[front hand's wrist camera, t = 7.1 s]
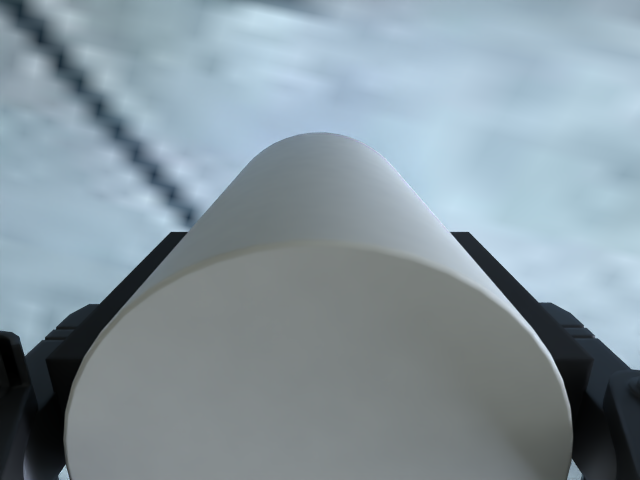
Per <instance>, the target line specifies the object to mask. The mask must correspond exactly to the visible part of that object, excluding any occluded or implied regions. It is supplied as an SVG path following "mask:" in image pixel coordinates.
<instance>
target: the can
mask: <svg viewBox="0 0 640 480" xmlns="http://www.w3.org/2000/svg"><path fill="white" fill-rule="evenodd" d="M63 442H64V451H65V460H66V467H67V471H68V474H69V478H70V480H567V477H568V473H569V469H570V465H571V459H572V446H573V428H572V418H571V408H570V404H569V400H568V396H567V393H566V389H565V386H564V382H563V379H562V377H561V375H560V373H559V371H558V368H557V366H556V364H555V362H554V360H553V358H552V356H551V354H550V352H549V351H548V349H547V348H546V347H545V345H544V344H543V342H542V341H541V339H540V338H539V337H538V335H537V334H536V332H535V331H534V330H533V328H532V327H531V326H530V325H529V324H528V322H527V321H526V320H525V319H524V318H523V317H522V315H521V314H520V313H519V312H518V311H517V310H516V308H515V307H514V306H513V305H512V304H511V303H510V301H509V300H508V299H507V298H506V297H505V296H504V295H503V293H502V292H501V291H500V290H499V289H498V288H497V286H496V285H495V284H494V283H493V282H492V281H491V279H490V278H489V277H488V276H487V275H486V274H485V272H484V271H483V270H482V269H481V268H480V267H479V266H478V264H477V263H476V262H475V261H474V260H473V259H472V257H471V256H470V255H469V254H468V253H467V252H466V250H465V249H464V248H463V247H462V246H461V245H460V244H459V242H458V241H457V240H456V239H455V238H454V237H453V235H452V234H451V233H450V232H449V231H448V230H447V228H446V227H445V226H444V225H443V224H442V223H441V221H440V220H439V219H438V218H437V217H436V216H435V215H434V213H433V212H432V211H431V210H430V209H429V208H428V206H427V205H426V204H425V203H424V202H423V201H422V199H421V198H420V197H419V196H418V195H417V194H416V192H415V191H414V190H413V189H412V188H411V187H410V186H409V184H408V183H407V182H406V181H405V180H404V179H403V177H402V176H401V175H400V174H399V173H398V172H397V170H396V169H395V168H394V167H393V166H392V165H391V164H390V163H389V162H388V161H387V160H386V159H385V158H384V157H383V156H382V155H381V154H380V153H378V152H377V151H376V150H374V149H373V148H371V147H369V146H368V145H366V144H364V143H363V142H360V141H358V140H355V139H353V138H350V137H347V136H343V135H339V134H332V133H307V134H300V135H296V136H292V137H289V138H286V139H283V140H281V141H279V142H276V143H274V144H272V145H271V146H269V147H268V148H266V149H264V150H263V151H262V152H260V153H259V154H258V155H257V156H255V157H254V158H253V159H252V160H251V161H250V162H249V163H248V165H247V166H246V167H245V168H244V169H243V170H242V171H241V172H240V174H239V175H238V176H237V177H236V178H235V179H234V180H233V182H232V183H231V184H230V185H229V186H228V187H227V188H226V190H225V191H224V192H223V193H222V194H221V195H220V196H219V197H218V199H217V200H216V201H215V202H214V203H213V204H212V205H211V207H210V208H209V209H208V210H207V211H206V212H205V213H204V215H203V216H202V217H201V218H200V219H199V220H198V221H197V223H196V224H195V225H194V226H193V227H192V228H191V229H190V231H189V232H188V233H187V234H186V235H185V236H184V237H183V239H182V240H181V241H180V242H179V243H178V244H177V245H176V247H175V248H174V249H173V250H172V251H171V252H170V253H169V255H168V256H167V257H166V258H165V259H164V260H163V261H162V263H161V264H160V265H159V266H158V267H157V268H156V269H155V271H154V272H153V273H152V274H151V275H150V276H149V277H148V279H147V280H146V281H145V282H144V283H143V284H142V285H141V286H140V288H139V289H138V290H137V291H136V292H135V293H134V294H133V296H132V297H131V298H130V299H129V300H128V301H127V302H126V304H125V305H124V306H123V307H122V308H121V309H120V310H119V312H118V313H117V314H116V315H115V316H114V317H113V318H112V320H111V321H110V322H109V323H108V324H107V325H106V326H105V328H104V329H103V330H102V331H101V332H100V334H99V335H98V337H97V338H96V340H95V341H94V343H93V344H92V346H91V347H90V349H89V350H88V352H87V353H86V355H85V356H84V358H83V360H82V363H81V365H80V367H79V369H78V372H77V374H76V376H75V378H74V381H73V383H72V387H71V391H70V395H69V399H68V403H67V407H66V411H65V423H64V437H63Z"/></svg>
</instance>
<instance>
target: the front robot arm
mask: <svg viewBox="0 0 640 480" xmlns="http://www.w3.org/2000/svg"><path fill="white" fill-rule="evenodd" d="M187 233H188V232H170V233H169V234H168V235H167V237H166V238H165V239H164V240H163V241H162V242H161V243H160V244H159V245H158V246H157V247H156V248H155V249H154V250H153V251H152V252H151V253H150V254H149V255H148V256H147V257H146V258H145V259H144V260H143V261H142V262H141V263H140V264H139V265H138V266H137V267H136V268H135V269H134V270H133V271H132V272H131V273H130V274H129V275H128V276H127V277H126V278H125V279H124V280H123V281H122V282H121V283H120V284H119V285H118V286H117V287H116V288H115V289H114V290H113V291H112V292H111V293H110V294H109V295H108V296H107V297H106V298H105V299H104V300H103V301H102V302H101V303H100V304H89V305H87V306H85V307H83V308H81V309H79V310H77V311H76V312H74V313H72V314H70V315H69V316H68V317H67V318H65V319H64V320H63V321H62V322H61V323H60V324H59V325H58V326H57V327H56V330H53V331H52V332H50V333H49V334H48V335H47V336H46V337H45V340H42V341H41V342H40V343H39V344H38V345H36V346H35V347H34V348H33V349H32V350H31V351H30V352H29V353H28V354H27V355H26V356H24V352H23V349H22V345H21V342H20V338H19V336H17V335H16V334H14V333H13V332H6V331H0V480H59V477H58V475H59V473H60V472H61V470H62V469H63V467H64V466H65V464H66V460H65V451H64V442H63V437H64V423H65V411H66V407H67V403H68V399H69V395H70V391H71V387H72V383H73V381H74V378H75V376H76V374H77V372H78V369H79V367H80V365H81V363H82V360H83V358H84V356H85V355H86V353H87V352H88V350H89V349H90V347H91V346H92V344H93V343H94V341H95V340H96V338H97V337H98V335H99V334H100V332H101V331H102V330H103V329H104V328H105V326H106V325H107V324H108V323H109V322H110V321H111V320H112V318H113V317H114V316H115V315H116V314H117V313H118V312H119V310H120V309H121V308H122V307H123V306H124V305H125V304H126V302H127V301H128V300H129V299H130V298H131V297H132V296H133V294H134V293H135V292H136V291H137V290H138V289H139V288H140V286H141V285H142V284H143V283H144V282H145V281H146V280H147V279H148V277H149V276H150V275H151V274H152V273H153V272H154V271H155V269H156V268H157V267H158V266H159V265H160V264H161V263H162V261H163V260H164V259H165V258H166V257H167V256H168V255H169V253H170V252H171V251H172V250H173V249H174V248H175V247H176V245H177V244H178V243H179V242H180V241H181V240H182V239H183V237H184V236H185V235H186V234H187ZM450 233H451V234H452V235H453V237H454V238H455V239H456V240H457V241H458V242H459V244H460V245H461V246H462V247H463V248H464V249H465V250H466V252H467V253H468V254H469V255H470V256H471V257H472V259H473V260H474V261H475V262H476V263H477V264H478V266H479V267H480V268H481V269H482V270H483V271H484V272H485V274H486V275H487V276H488V277H489V278H490V279H491V281H492V282H493V283H494V284H495V285H496V286H497V288H498V289H499V290H500V291H501V292H502V293H503V295H504V296H505V297H506V298H507V299H508V300H509V301H510V303H511V304H512V305H513V306H514V307H515V308H516V310H517V311H518V312H519V313H520V314H521V315H522V317H523V318H524V319H525V320H526V321H527V322H528V324H529V325H530V326H531V327H532V328H533V330H534V331H535V332H536V334H537V335H538V337H539V338H540V339H541V341H542V342H543V344H544V345H545V347H546V348H547V349H548V351H549V352H550V354H551V356H552V358H553V360H554V362H555V364H556V366H557V368H558V371H559V373H560V375H561V377H562V379H563V382H564V386H565V389H566V393H567V396H568V400H569V404H570V408H571V418H572V428H573V446H572V459H573V461H574V462H575V464H576V465H577V467H578V468H579V470H580V471H581V473H582V477H581V480H640V370H632V369H630V368H629V367H628V366H627V365H626V364H625V363H624V362H623V361H622V360H621V359H620V358H618V357H617V356H616V355H615V354H614V353H613V352H612V351H611V350H610V349H609V348H608V347H607V346H605V345H604V344H603V343H602V342H601V341H600V340H599V339H598V338H595V335H594V334H592V333H591V332H590V331H589V330H588V329H587V328H584V325H583V324H582V323H581V322H580V321H578V320H577V319H576V318H575V317H574V316H573V315H572V314H571V313H569V312H567V311H565V310H564V309H562V308H560V307H558V306H556V305H554V304H552V303H538V302H537V301H536V299H535V298H534V297H533V296H532V295H531V294H530V293H529V292H528V291H527V290H526V289H525V288H524V287H523V286H522V285H521V284H520V283H519V282H518V281H517V280H516V279H515V278H514V277H513V276H512V275H511V274H510V273H509V272H508V271H507V270H506V269H505V268H504V267H503V266H502V265H501V264H500V263H499V262H498V261H497V260H496V259H495V258H494V257H493V256H492V255H491V254H490V253H489V252H488V251H487V250H486V249H485V248H484V247H483V246H482V245H481V244H480V243H479V242H478V241H477V240H476V239H475V238H474V237H473V236H472V235H471V234H470V233H469V232H450Z"/></svg>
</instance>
